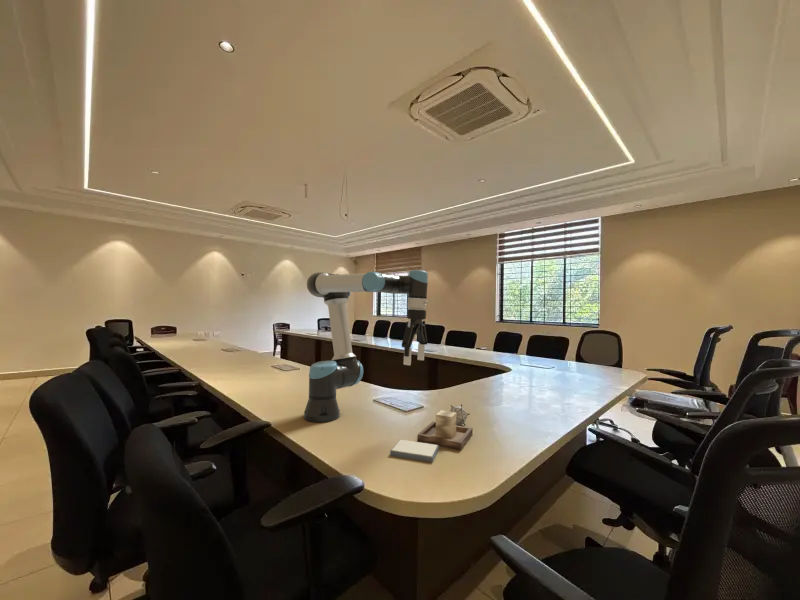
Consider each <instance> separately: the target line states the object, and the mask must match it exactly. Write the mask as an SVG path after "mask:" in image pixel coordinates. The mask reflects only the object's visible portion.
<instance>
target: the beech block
mask: <svg viewBox="0 0 800 600" xmlns="http://www.w3.org/2000/svg"><path fill="white" fill-rule="evenodd" d="M456 414H457V413H456V412H450V411H449V410H442V409H440V410H439V411H438V412H437V413H435V422H436V437H440V438H446V439H451V440H452V438H453V437H454V436H455V435H456Z"/></svg>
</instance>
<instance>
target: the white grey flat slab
mask: <svg viewBox="0 0 800 600" xmlns="http://www.w3.org/2000/svg"><path fill="white" fill-rule="evenodd" d="M439 450H440V446H438V445H434V444H427V443H423V442H418V441H414V440H413V441H412V440H406V439H399V440H398V441H397V443H396V444H395V445H394V446H393V447H392V448H391V450H390V452H389V455H390V456H391V457H396V458H403V459H409V460H415V461H422V462H428V463H433V462H434V461H435V458H436V457H437V455H438V453H439Z"/></svg>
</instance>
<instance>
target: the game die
mask: <svg viewBox="0 0 800 600" xmlns="http://www.w3.org/2000/svg"><path fill="white" fill-rule="evenodd" d="M450 407H451V408H450V412H456V413H457V414H456V425H457V426H460V425H464V426H466V424H465V423H466V420H467V418H468V417H469V415H470V414H471V413H468V412H467V411H466V410H465V409H464V407H463V404H460V405H456V406H453V405H452V404H450Z"/></svg>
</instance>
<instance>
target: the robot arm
mask: <svg viewBox="0 0 800 600" xmlns="http://www.w3.org/2000/svg"><path fill="white" fill-rule="evenodd" d="M428 275H429V274H428V271H426V270H422V269H421V270H420V269H419V270H418V269H411V270H409V273H408V275H398V274H397V275H396V274H389V273H384V272H378V271H368V272H365V273H362V272H361V273H349V274H347V273H345V274H342V273H341V274H338V273H327V272H320V271H319V272H314V273H312V274H310V276H309V277H308V278H307V280H306V288H307V291H308V293H310V295H312V296H314V297H316V298H323V302H324V304H325V305H326V306H327V307H328V308H327V309H328V316H329V323H330V331H331V340H332V347H333V357H332V359H331V360H321V361H317V362H315V363H312V364H311V365H310V367H309V374H308V399H307V403H306V405H305V406H306V407H305V409H304V411H303V419H304V420H306V421H308V422H311V423H325V422H326V423H328V422H332V421H334V420H337V419H339V418H340V414H341V411H340V408H339V404H338V400H337V390H339V389H343V388H349V387H353V386H355V385H358V384H359V383H360V382H361V380H362V379H363V377H364V376H363V375H364V366H363V364H362V363H361V362H360V360H359V359H358V360H357V355H356V354H355V353H353V347H352V340H351V331H350V325H349V318H348V310H347V303H348V302H349V297H350V296H351V295H352V293H388V294H393V295H396V294H399V295H401V294H403V295H405V294H406V295H407V296H408V297H407V308H408V309H407V313H406V318H407V319H408V320H410V321H406V322H405V323H406V324H405V330H404V334H403V338H402V341H401V348H403V365H404V366H412V365H411V364H412V344H413V342H414V339H415V336H416V337H417V340H418V344H417V358H416V359H417V361H425V348H426V347H425V346H426V345H428V339H427V338H428V337H427V329H426V318H427V310H426V309H427V304H428V302H429V301H428V300H427V299H428V298H427V297H428V284H429V279H428V278H429V276H428Z"/></svg>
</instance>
